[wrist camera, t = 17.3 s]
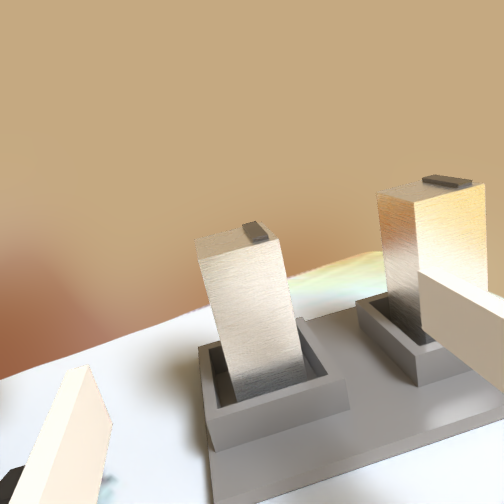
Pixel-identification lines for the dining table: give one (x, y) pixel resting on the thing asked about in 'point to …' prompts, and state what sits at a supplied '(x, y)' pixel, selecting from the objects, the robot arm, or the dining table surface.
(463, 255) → the billet
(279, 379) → the billet
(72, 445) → the robot arm
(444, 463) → the dining table surface
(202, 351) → the pallet
